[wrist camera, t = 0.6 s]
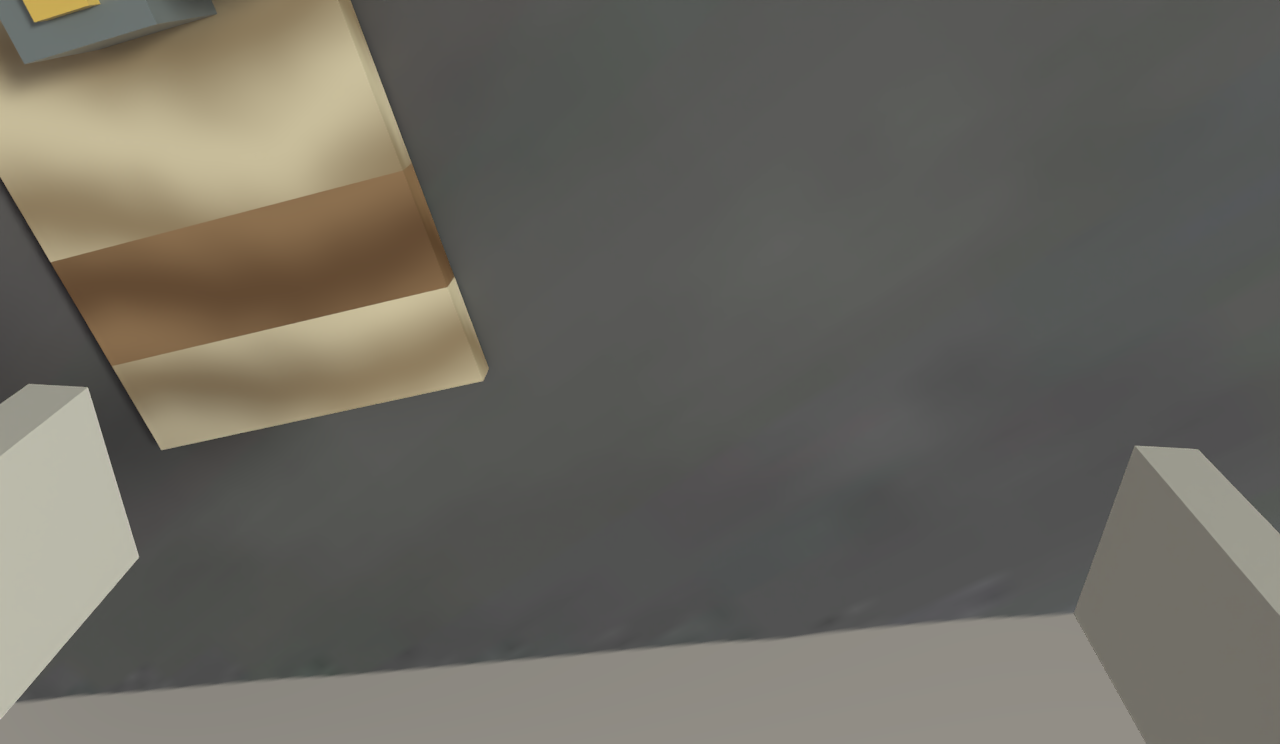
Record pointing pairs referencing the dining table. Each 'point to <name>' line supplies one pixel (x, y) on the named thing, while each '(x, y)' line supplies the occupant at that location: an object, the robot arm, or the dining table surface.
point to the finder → (90, 23)
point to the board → (237, 219)
